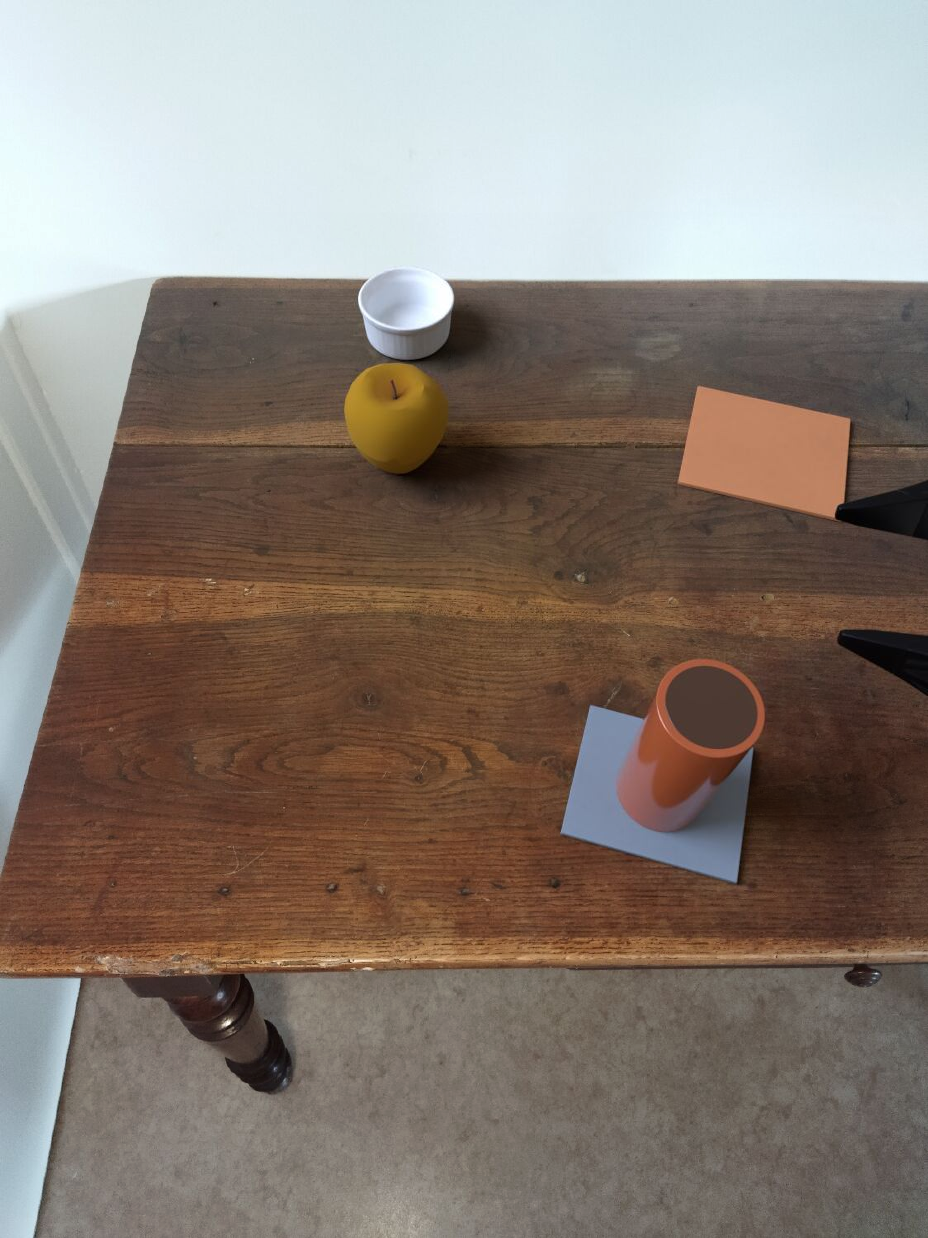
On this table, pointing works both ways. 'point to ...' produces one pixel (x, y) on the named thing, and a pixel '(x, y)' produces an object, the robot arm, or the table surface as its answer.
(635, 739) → the terracotta pot
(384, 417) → the apple
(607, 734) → the slate mat
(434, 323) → the ramekin
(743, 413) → the terracotta mat
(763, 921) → the table surface
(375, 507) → the table surface
